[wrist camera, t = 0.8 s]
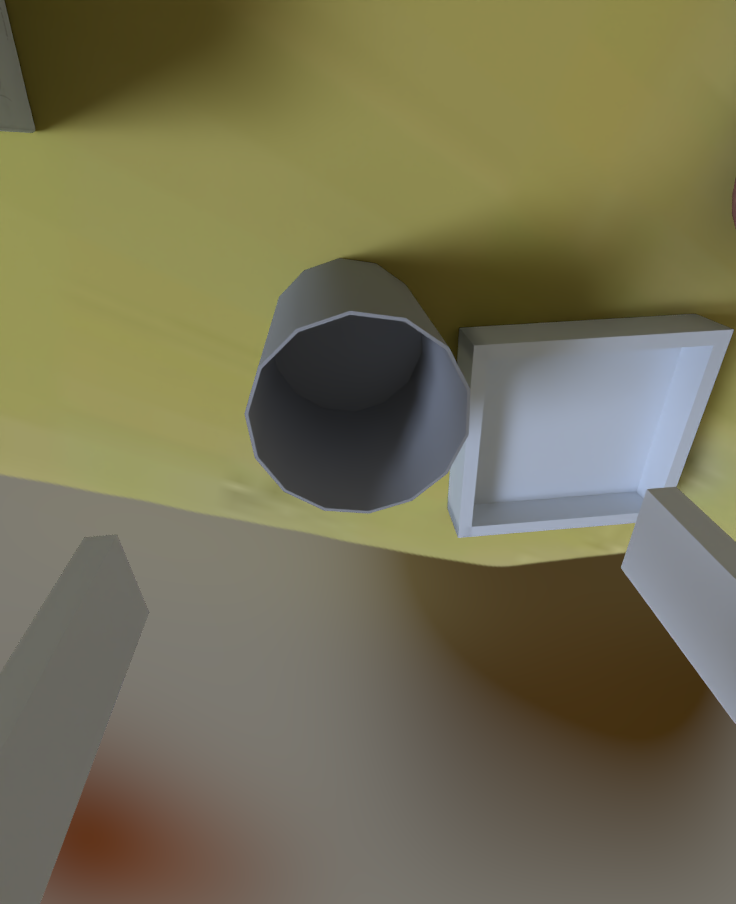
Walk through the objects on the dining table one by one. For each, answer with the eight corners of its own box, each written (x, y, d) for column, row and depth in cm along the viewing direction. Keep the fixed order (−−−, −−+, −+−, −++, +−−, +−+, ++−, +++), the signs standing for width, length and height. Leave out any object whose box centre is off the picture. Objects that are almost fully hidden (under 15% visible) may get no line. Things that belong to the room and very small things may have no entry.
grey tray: (459, 327, 27) (473, 345, 24) (695, 313, 27) (733, 329, 25) (447, 508, 33) (458, 537, 31) (638, 493, 34) (664, 520, 31)
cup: (453, 318, 26) (516, 393, 18) (368, 431, 30) (388, 540, 21) (320, 224, 23) (321, 260, 15) (242, 360, 27) (206, 454, 18)
